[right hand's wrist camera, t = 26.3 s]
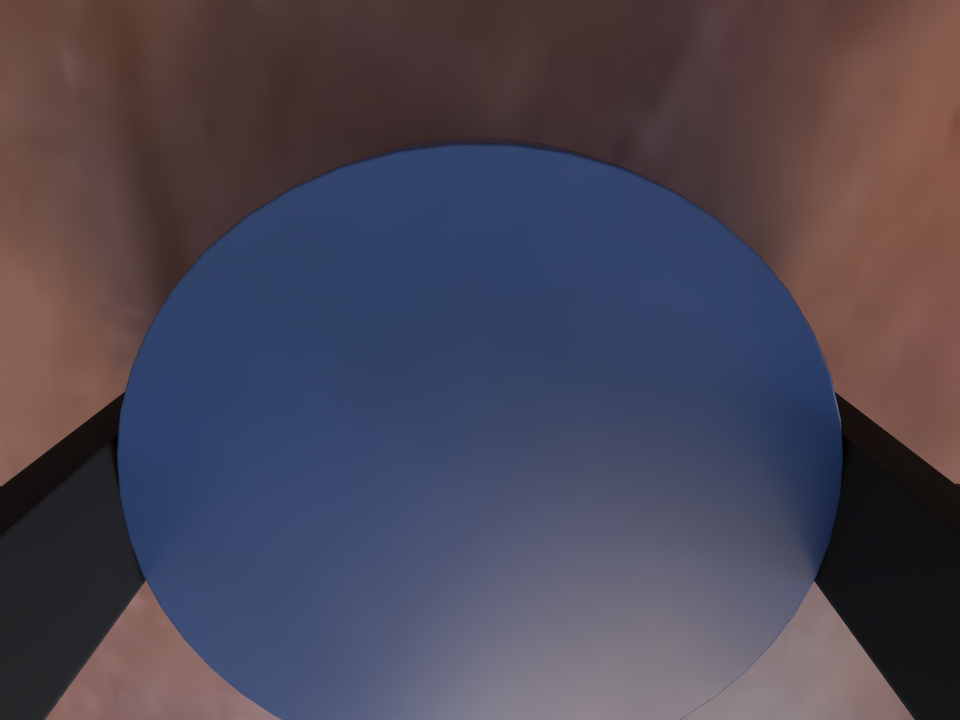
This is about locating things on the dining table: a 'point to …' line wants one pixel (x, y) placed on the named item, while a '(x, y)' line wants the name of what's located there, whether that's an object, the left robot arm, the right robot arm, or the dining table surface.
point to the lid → (479, 444)
